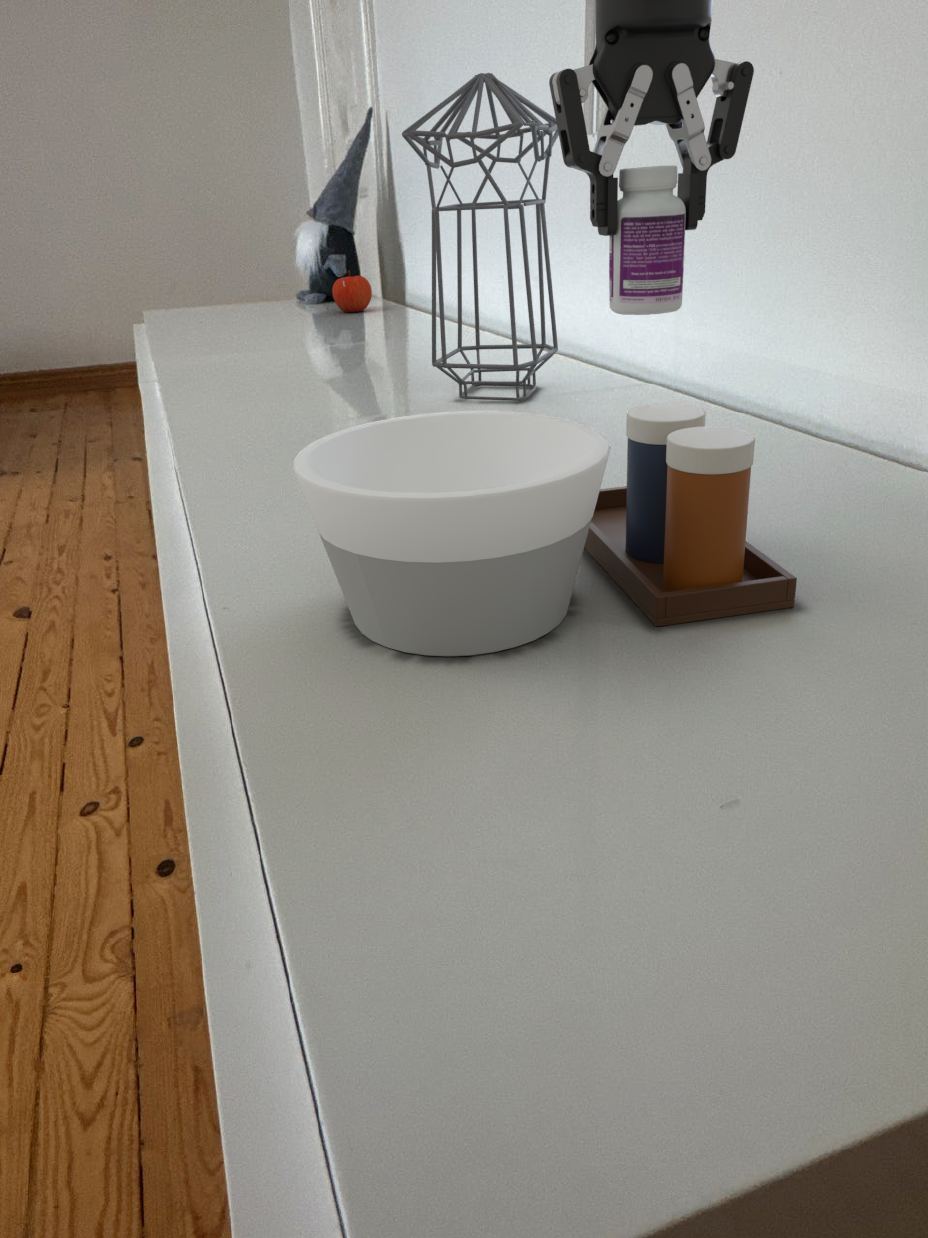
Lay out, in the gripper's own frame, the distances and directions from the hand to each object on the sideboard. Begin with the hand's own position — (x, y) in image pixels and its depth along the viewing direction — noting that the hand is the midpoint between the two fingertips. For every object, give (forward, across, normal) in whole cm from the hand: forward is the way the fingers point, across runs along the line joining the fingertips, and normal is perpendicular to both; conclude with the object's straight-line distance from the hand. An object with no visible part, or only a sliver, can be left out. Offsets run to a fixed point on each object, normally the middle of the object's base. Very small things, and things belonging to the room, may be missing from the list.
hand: (647, 230), depth 69 cm
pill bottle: (+6, 0, 0) cm, 6 cm away
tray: (+21, -2, -9) cm, 23 cm away
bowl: (+21, -17, -13) cm, 31 cm away
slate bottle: (+21, -2, -9) cm, 23 cm away
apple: (+21, -10, +136) cm, 138 cm away
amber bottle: (+21, -2, -16) cm, 26 cm away
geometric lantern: (+21, -1, +48) cm, 52 cm away
